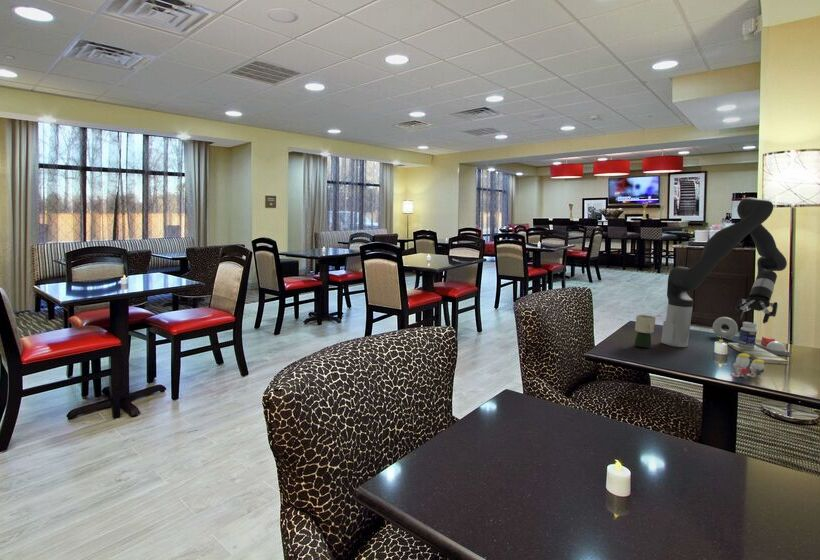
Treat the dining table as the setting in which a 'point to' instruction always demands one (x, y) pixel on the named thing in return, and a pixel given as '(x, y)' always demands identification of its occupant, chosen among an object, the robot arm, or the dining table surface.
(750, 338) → the pill bottle
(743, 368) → the toy figures
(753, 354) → the game track
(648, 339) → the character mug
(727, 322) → the donut
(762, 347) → the dice dome
